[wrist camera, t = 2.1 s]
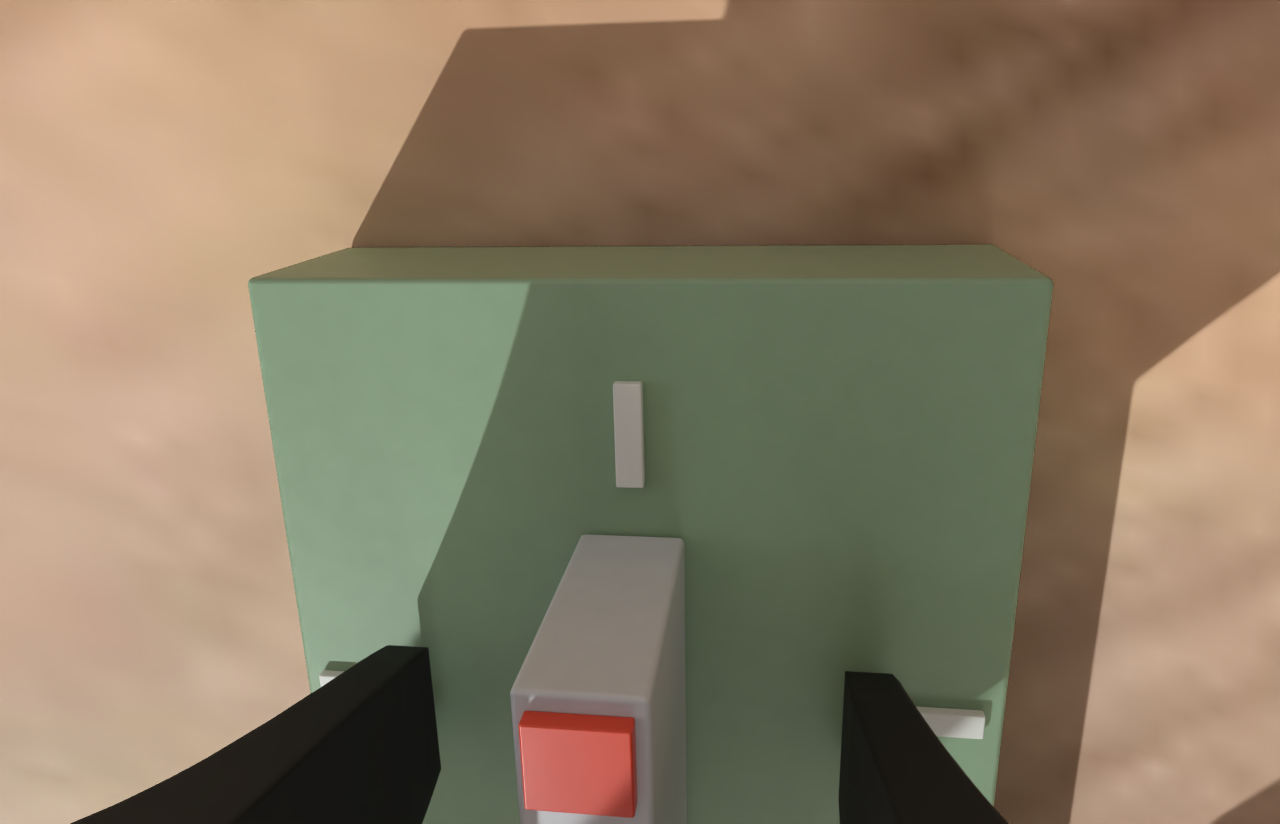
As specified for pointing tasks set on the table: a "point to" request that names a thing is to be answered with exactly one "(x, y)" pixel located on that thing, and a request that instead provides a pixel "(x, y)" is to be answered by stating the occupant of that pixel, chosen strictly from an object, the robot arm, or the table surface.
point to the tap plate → (666, 483)
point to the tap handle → (606, 690)
